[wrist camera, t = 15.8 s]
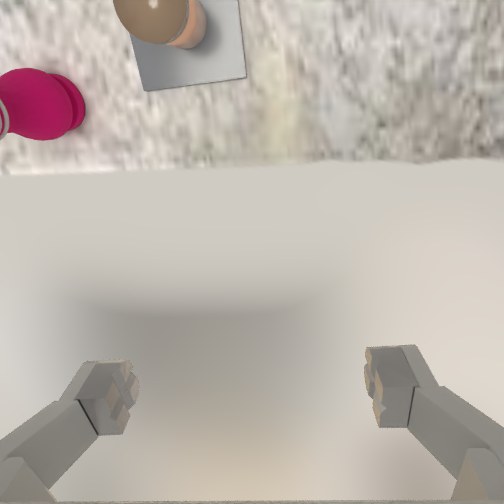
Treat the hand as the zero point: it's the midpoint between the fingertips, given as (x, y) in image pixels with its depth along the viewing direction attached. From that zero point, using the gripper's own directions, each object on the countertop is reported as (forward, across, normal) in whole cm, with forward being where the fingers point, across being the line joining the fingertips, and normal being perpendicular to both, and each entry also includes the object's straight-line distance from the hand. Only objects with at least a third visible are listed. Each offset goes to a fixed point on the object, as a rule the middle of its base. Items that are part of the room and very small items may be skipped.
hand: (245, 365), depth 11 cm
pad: (+34, +7, -15) cm, 38 cm away
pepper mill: (+34, +24, -9) cm, 43 cm away
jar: (+33, +7, -15) cm, 37 cm away
